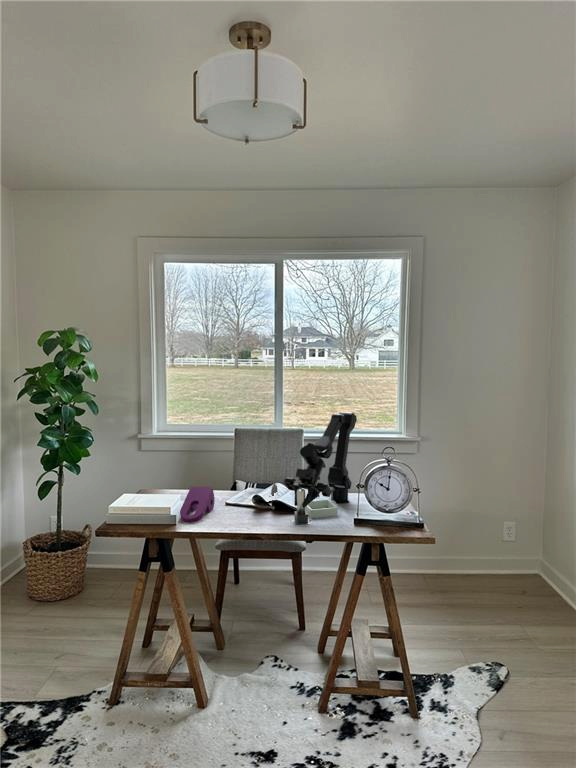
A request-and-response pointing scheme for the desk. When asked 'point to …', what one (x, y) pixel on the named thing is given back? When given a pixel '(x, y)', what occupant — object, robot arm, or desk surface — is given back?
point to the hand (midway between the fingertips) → (299, 506)
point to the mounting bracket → (197, 503)
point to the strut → (300, 508)
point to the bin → (323, 512)
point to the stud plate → (300, 523)
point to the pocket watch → (274, 488)
